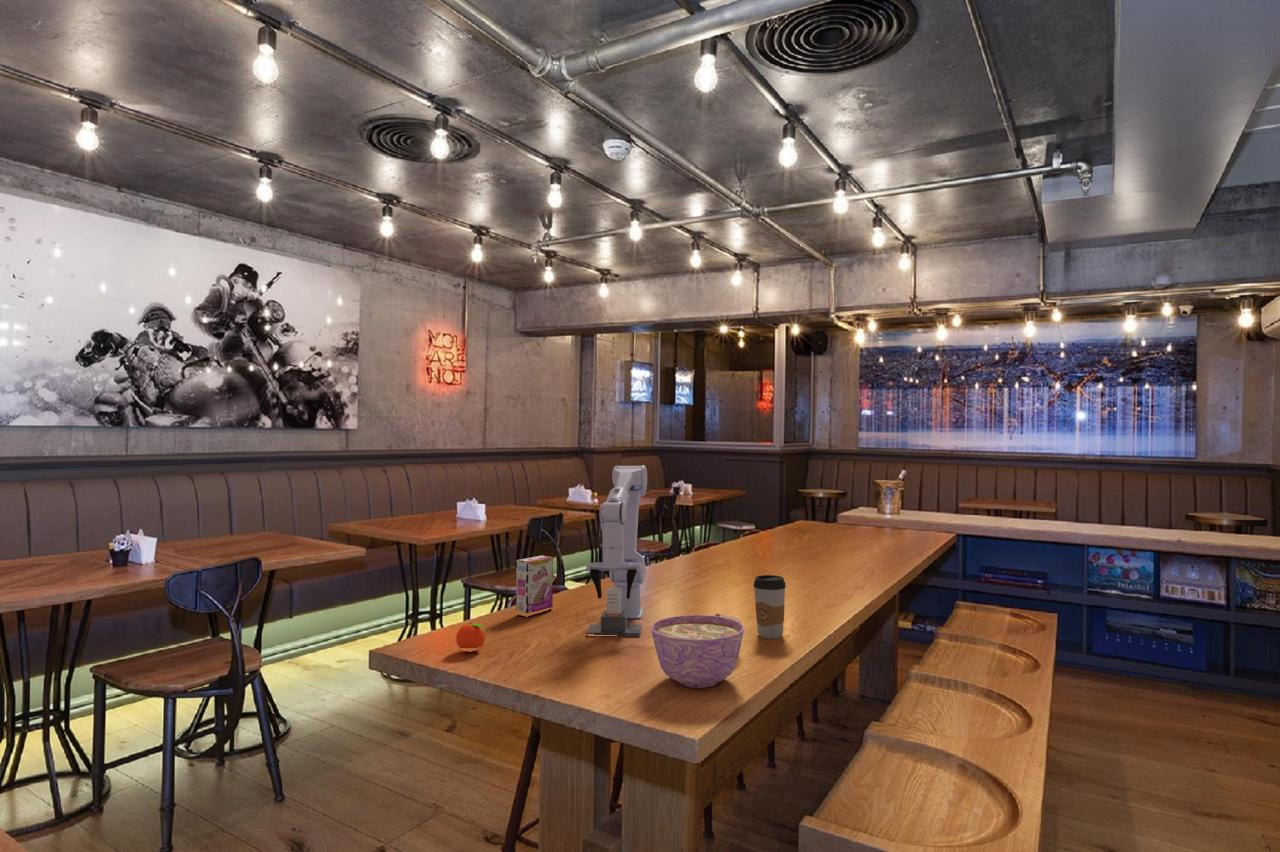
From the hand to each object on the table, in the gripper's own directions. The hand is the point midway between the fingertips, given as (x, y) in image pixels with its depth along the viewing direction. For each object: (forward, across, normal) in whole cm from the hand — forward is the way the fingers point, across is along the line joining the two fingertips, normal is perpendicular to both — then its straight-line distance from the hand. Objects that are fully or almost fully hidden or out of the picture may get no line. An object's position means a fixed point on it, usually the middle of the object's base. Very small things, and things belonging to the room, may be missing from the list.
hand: (614, 597), depth 189 cm
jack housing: (+9, 0, 0) cm, 9 cm away
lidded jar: (+9, +27, -17) cm, 33 cm away
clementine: (+9, -33, -18) cm, 39 cm away
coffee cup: (+9, +41, -2) cm, 42 cm away
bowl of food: (+9, +22, -37) cm, 44 cm away
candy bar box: (+9, -26, +21) cm, 35 cm away
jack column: (+6, 0, 0) cm, 6 cm away
